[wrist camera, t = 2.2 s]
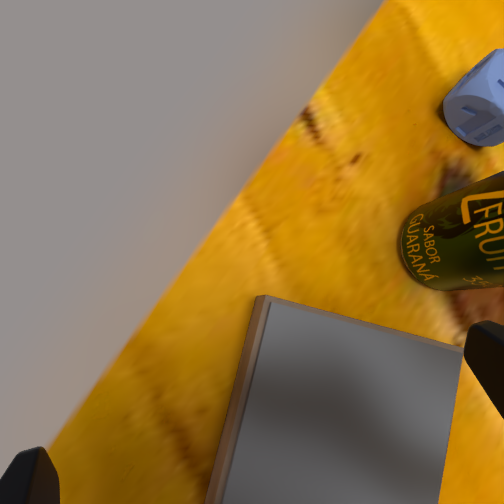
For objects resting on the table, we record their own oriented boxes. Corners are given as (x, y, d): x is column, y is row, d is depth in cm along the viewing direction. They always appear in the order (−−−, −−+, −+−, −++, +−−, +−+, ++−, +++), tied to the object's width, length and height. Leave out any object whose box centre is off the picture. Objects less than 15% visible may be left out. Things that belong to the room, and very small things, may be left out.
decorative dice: (431, 113, 28) (472, 81, 24) (465, 72, 29) (511, 34, 25) (476, 156, 28) (525, 131, 24) (510, 114, 29) (562, 83, 25)
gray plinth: (400, 545, 24) (431, 577, 21) (203, 505, 23) (207, 534, 20) (435, 344, 26) (468, 348, 23) (256, 296, 25) (267, 294, 22)
